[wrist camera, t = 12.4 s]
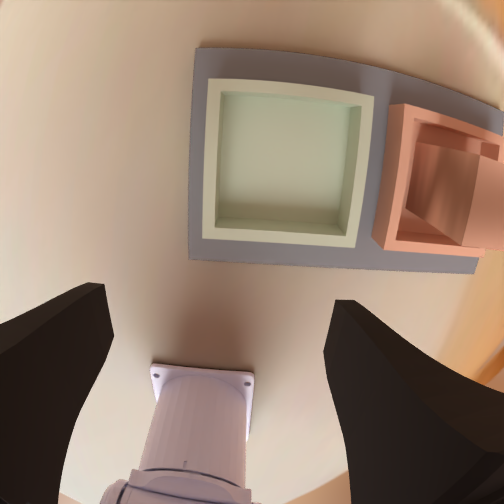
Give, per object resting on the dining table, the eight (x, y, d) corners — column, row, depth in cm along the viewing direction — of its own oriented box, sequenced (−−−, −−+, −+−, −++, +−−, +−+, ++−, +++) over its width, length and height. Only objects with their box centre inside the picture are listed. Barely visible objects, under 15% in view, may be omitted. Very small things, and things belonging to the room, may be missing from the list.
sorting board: (469, 270, 19) (488, 286, 17) (190, 255, 19) (181, 274, 16) (498, 111, 15) (523, 114, 12) (197, 50, 14) (188, 38, 12)
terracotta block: (454, 216, 17) (513, 252, 11) (405, 208, 17) (461, 245, 11) (465, 156, 15) (531, 175, 10) (415, 142, 15) (480, 154, 10)
